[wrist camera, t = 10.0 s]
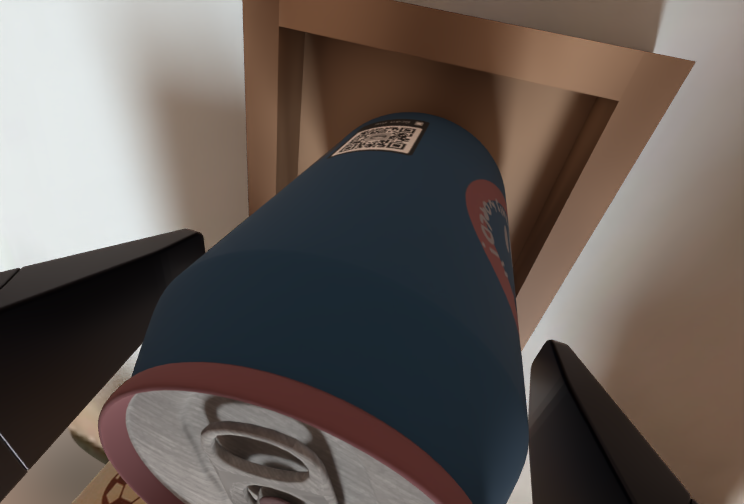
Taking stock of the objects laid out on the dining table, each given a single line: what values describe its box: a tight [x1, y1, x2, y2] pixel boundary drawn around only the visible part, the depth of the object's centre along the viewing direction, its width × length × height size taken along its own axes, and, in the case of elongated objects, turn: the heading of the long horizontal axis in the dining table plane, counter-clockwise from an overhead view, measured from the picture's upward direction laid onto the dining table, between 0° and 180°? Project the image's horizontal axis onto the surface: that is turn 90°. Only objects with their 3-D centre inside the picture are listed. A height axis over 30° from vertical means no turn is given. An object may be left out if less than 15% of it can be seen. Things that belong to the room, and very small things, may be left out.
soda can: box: [98, 112, 529, 504], centre depth 10 cm, size 7×7×12 cm
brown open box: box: [242, 0, 695, 351], centre depth 14 cm, size 12×12×3 cm
